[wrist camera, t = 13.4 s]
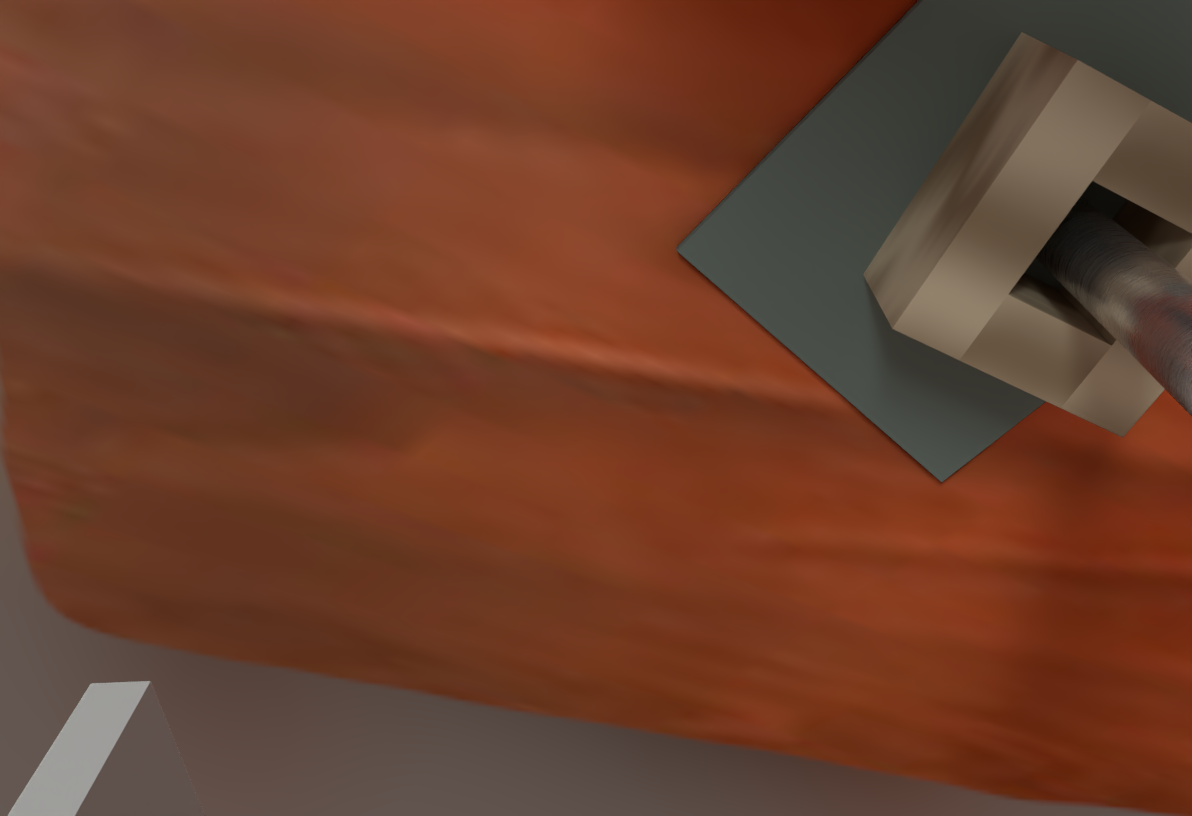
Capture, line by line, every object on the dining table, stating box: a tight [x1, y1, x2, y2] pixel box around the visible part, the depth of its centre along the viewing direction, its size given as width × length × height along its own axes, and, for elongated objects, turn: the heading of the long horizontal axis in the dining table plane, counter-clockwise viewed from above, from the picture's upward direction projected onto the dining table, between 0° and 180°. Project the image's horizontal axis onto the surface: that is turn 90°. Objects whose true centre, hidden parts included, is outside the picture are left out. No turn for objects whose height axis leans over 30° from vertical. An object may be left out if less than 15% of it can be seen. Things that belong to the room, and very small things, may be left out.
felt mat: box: [676, 0, 1192, 482], centre depth 37 cm, size 24×16×1 cm, turn 138°
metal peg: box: [1035, 196, 1192, 416], centre depth 30 cm, size 3×3×18 cm
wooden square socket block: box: [863, 32, 1192, 437], centre depth 36 cm, size 10×10×5 cm
